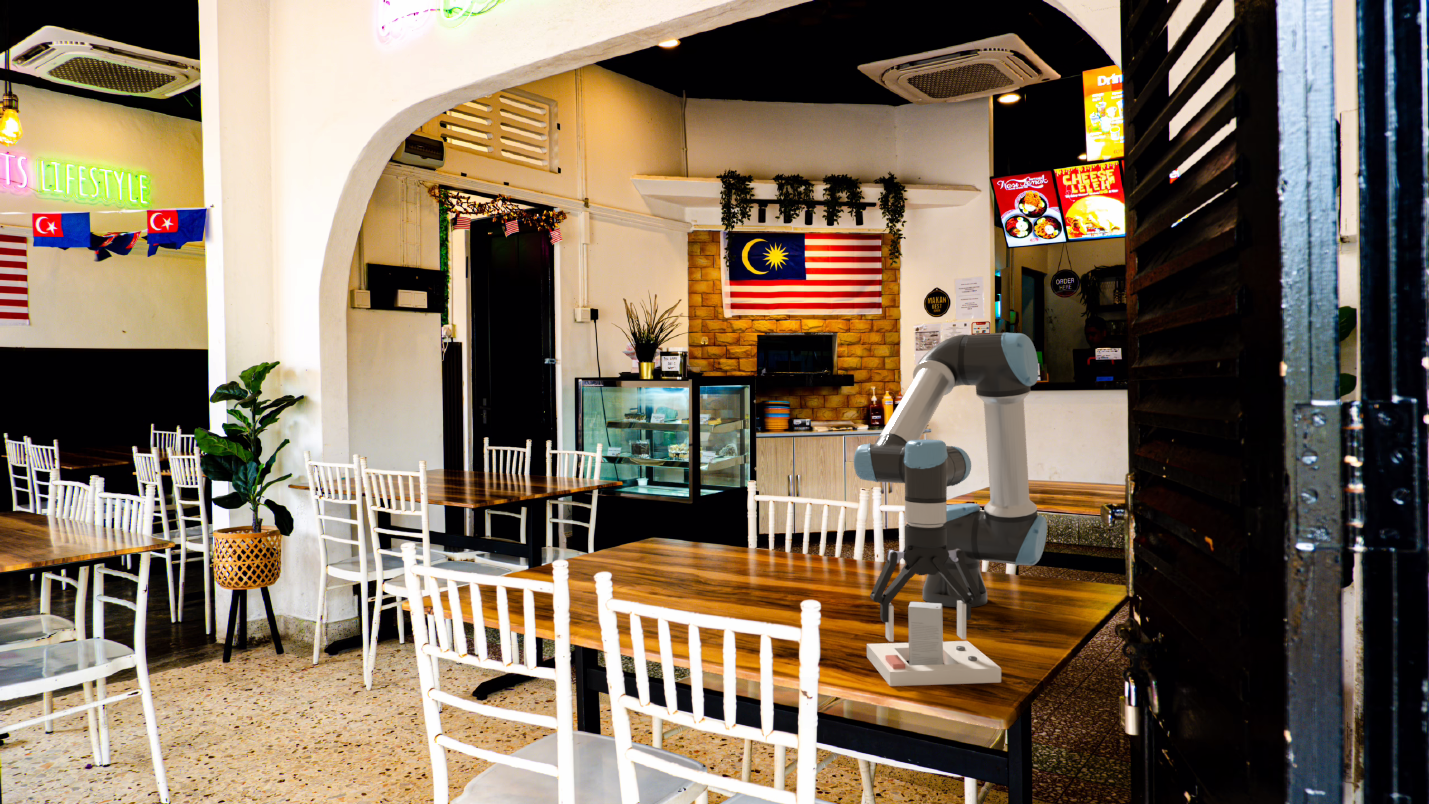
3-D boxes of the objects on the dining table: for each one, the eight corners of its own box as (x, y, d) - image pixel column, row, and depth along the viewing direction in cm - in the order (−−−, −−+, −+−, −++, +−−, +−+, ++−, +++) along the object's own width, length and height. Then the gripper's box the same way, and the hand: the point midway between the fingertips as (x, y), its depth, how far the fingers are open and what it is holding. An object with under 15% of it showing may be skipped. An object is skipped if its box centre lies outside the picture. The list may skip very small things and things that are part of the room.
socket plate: (967, 653, 166) (967, 636, 166) (1001, 682, 151) (1001, 663, 150) (866, 656, 165) (866, 639, 165) (890, 686, 149) (889, 667, 149)
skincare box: (943, 667, 159) (943, 603, 159) (942, 674, 155) (942, 609, 155) (909, 664, 161) (909, 600, 160) (908, 671, 157) (908, 606, 156)
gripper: (983, 519, 162) (983, 630, 162) (854, 521, 160) (854, 634, 160) (999, 525, 154) (999, 642, 155) (864, 528, 152) (864, 646, 153)
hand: (925, 638), depth 158 cm, fingers open, 13 cm apart
